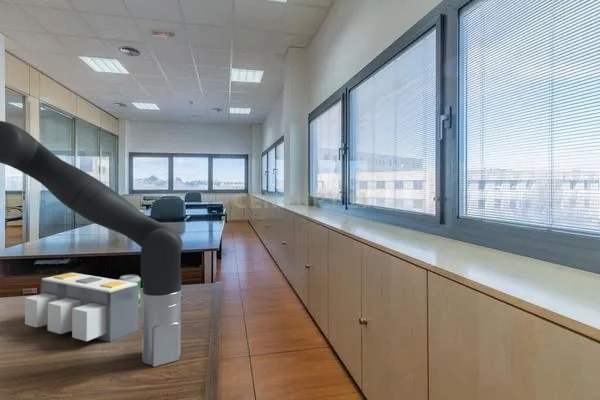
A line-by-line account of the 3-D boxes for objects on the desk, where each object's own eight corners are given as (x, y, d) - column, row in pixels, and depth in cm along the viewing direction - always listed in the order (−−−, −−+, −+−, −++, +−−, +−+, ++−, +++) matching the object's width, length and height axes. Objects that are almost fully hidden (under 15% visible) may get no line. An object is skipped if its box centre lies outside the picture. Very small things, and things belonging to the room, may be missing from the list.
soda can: (133, 313, 120) (134, 279, 120) (112, 312, 120) (113, 278, 120) (144, 306, 127) (144, 274, 127) (124, 305, 127) (124, 273, 127)
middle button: (60, 334, 96) (60, 305, 96) (47, 330, 99) (47, 302, 99) (91, 323, 105) (91, 297, 105) (78, 320, 107) (78, 294, 107)
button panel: (110, 342, 96) (110, 289, 96) (40, 323, 109) (41, 277, 109) (138, 330, 105) (138, 282, 105) (70, 314, 118) (71, 271, 118)
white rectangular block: (37, 327, 101) (37, 300, 101) (24, 324, 103) (25, 297, 103) (68, 317, 109) (68, 292, 109) (56, 314, 111) (56, 290, 111)
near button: (86, 341, 92) (86, 311, 92) (72, 337, 94) (72, 308, 94) (116, 329, 100) (116, 302, 100) (102, 326, 103) (102, 299, 103)
